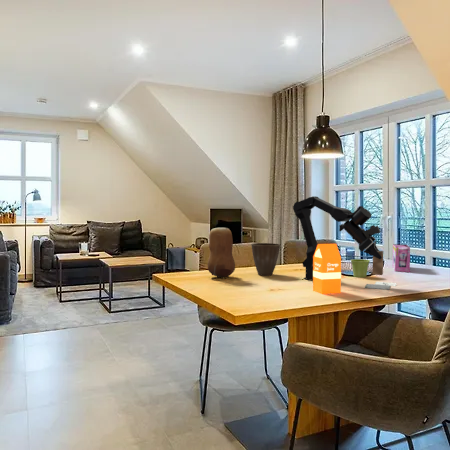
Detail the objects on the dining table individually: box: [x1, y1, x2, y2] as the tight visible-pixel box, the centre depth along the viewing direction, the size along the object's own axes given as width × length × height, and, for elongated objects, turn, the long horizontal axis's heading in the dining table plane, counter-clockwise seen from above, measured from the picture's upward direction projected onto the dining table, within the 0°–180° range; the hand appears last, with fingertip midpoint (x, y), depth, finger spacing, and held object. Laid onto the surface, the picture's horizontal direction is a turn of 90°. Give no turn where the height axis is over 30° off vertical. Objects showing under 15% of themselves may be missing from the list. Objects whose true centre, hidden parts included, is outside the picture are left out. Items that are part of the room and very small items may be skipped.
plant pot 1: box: [251, 242, 281, 277], centre depth 229 cm, size 15×15×16 cm
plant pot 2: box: [350, 258, 371, 279], centre depth 222 cm, size 9×9×9 cm
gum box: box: [392, 243, 411, 273], centre depth 252 cm, size 24×8×14 cm, turn 163°
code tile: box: [374, 281, 397, 287], centre depth 201 cm, size 9×9×1 cm
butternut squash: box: [207, 227, 236, 279], centre depth 219 cm, size 14×13×25 cm
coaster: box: [364, 283, 391, 291], centre depth 192 cm, size 10×10×1 cm
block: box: [372, 250, 384, 276], centre depth 192 cm, size 4×5×10 cm
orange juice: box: [312, 243, 342, 295], centre depth 183 cm, size 8×9×20 cm
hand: (381, 257), depth 192 cm, fingers closed on block, 5 cm apart
